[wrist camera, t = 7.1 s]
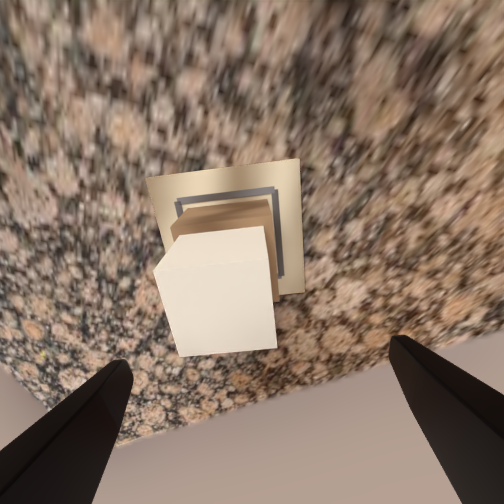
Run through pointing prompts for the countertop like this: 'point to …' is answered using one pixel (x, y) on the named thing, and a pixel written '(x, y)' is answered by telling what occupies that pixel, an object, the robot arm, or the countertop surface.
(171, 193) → the build plate
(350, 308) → the countertop surface
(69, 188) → the countertop surface
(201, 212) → the walnut block
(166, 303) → the cream block
